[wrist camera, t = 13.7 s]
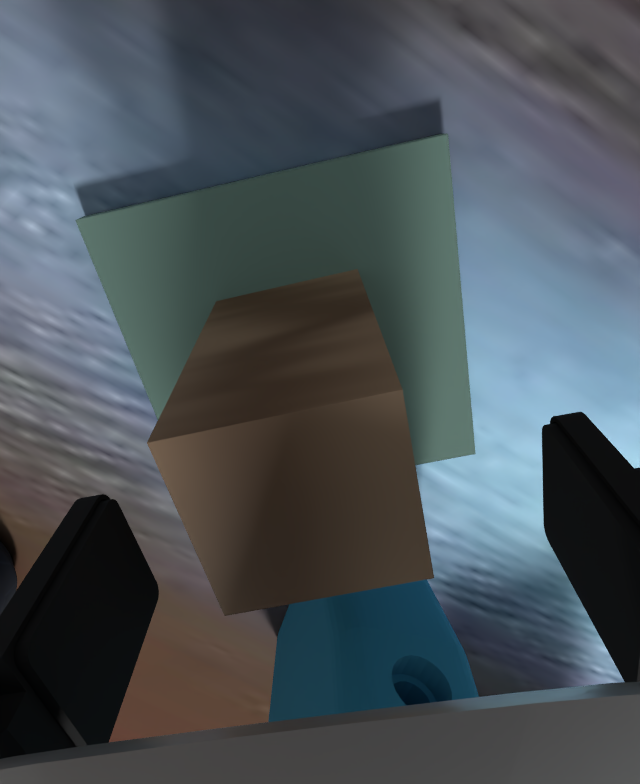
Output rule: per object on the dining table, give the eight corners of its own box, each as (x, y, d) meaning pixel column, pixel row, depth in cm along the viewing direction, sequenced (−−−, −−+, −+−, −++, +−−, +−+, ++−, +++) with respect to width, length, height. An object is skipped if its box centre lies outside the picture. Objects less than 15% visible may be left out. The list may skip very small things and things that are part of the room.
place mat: (441, 133, 17) (447, 134, 16) (469, 443, 22) (475, 453, 21) (84, 216, 17) (75, 219, 17) (197, 494, 23) (193, 506, 22)
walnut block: (357, 268, 18) (402, 389, 10) (381, 395, 20) (434, 578, 12) (216, 301, 18) (147, 443, 10) (255, 421, 20) (224, 615, 12)
